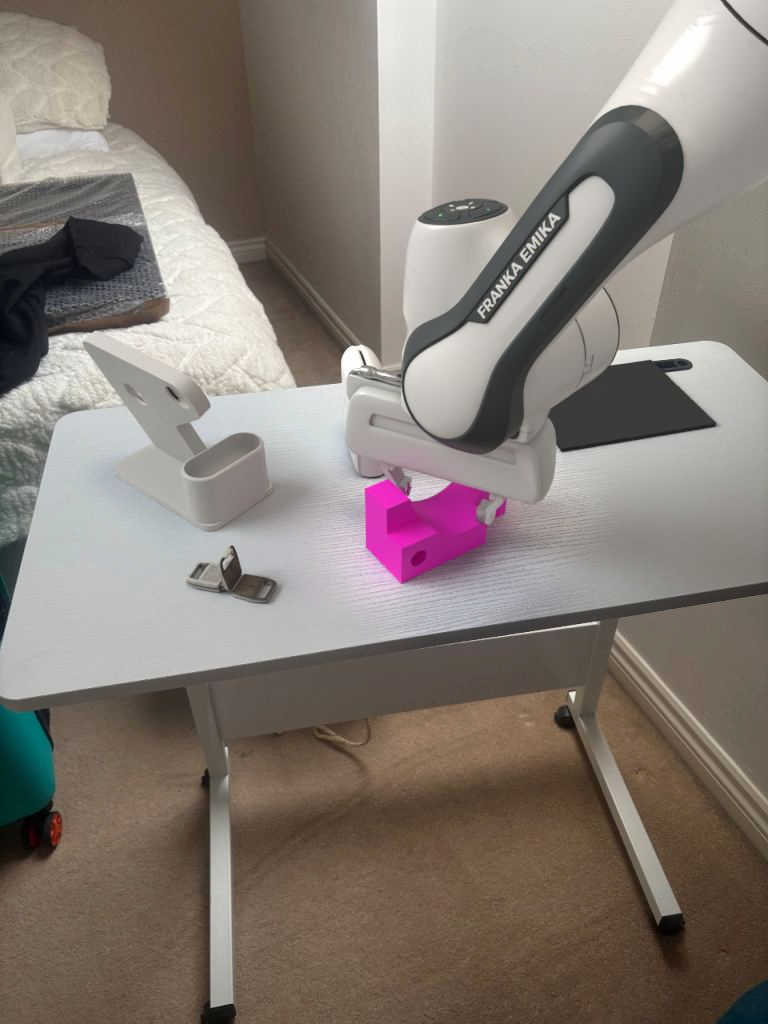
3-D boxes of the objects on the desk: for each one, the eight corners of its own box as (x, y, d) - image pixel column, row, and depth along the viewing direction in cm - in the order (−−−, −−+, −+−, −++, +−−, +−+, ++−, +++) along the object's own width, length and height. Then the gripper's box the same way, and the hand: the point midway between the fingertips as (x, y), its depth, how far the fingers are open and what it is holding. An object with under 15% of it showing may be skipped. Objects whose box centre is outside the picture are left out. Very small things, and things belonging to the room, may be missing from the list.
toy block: (401, 583, 79) (402, 524, 75) (365, 546, 83) (364, 488, 78) (520, 526, 86) (528, 468, 81) (482, 495, 90) (487, 438, 85)
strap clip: (184, 586, 79) (176, 553, 77) (199, 565, 82) (192, 533, 79) (266, 606, 77) (261, 573, 74) (279, 584, 79) (274, 551, 77)
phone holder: (281, 489, 91) (264, 341, 79) (211, 537, 85) (182, 384, 73) (178, 433, 99) (149, 292, 88) (107, 473, 93) (67, 327, 82)
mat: (650, 362, 112) (650, 359, 111) (715, 426, 100) (716, 422, 99) (510, 383, 108) (510, 379, 107) (561, 452, 96) (562, 448, 95)
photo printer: (341, 430, 100) (336, 337, 92) (376, 426, 100) (374, 333, 92) (355, 481, 92) (351, 383, 84) (393, 476, 92) (392, 379, 85)
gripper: (330, 376, 75) (335, 496, 83) (550, 433, 68) (530, 556, 77) (361, 346, 79) (363, 462, 88) (571, 396, 72) (550, 517, 81)
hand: (443, 507), depth 82 cm, fingers closed on toy block, 7 cm apart
